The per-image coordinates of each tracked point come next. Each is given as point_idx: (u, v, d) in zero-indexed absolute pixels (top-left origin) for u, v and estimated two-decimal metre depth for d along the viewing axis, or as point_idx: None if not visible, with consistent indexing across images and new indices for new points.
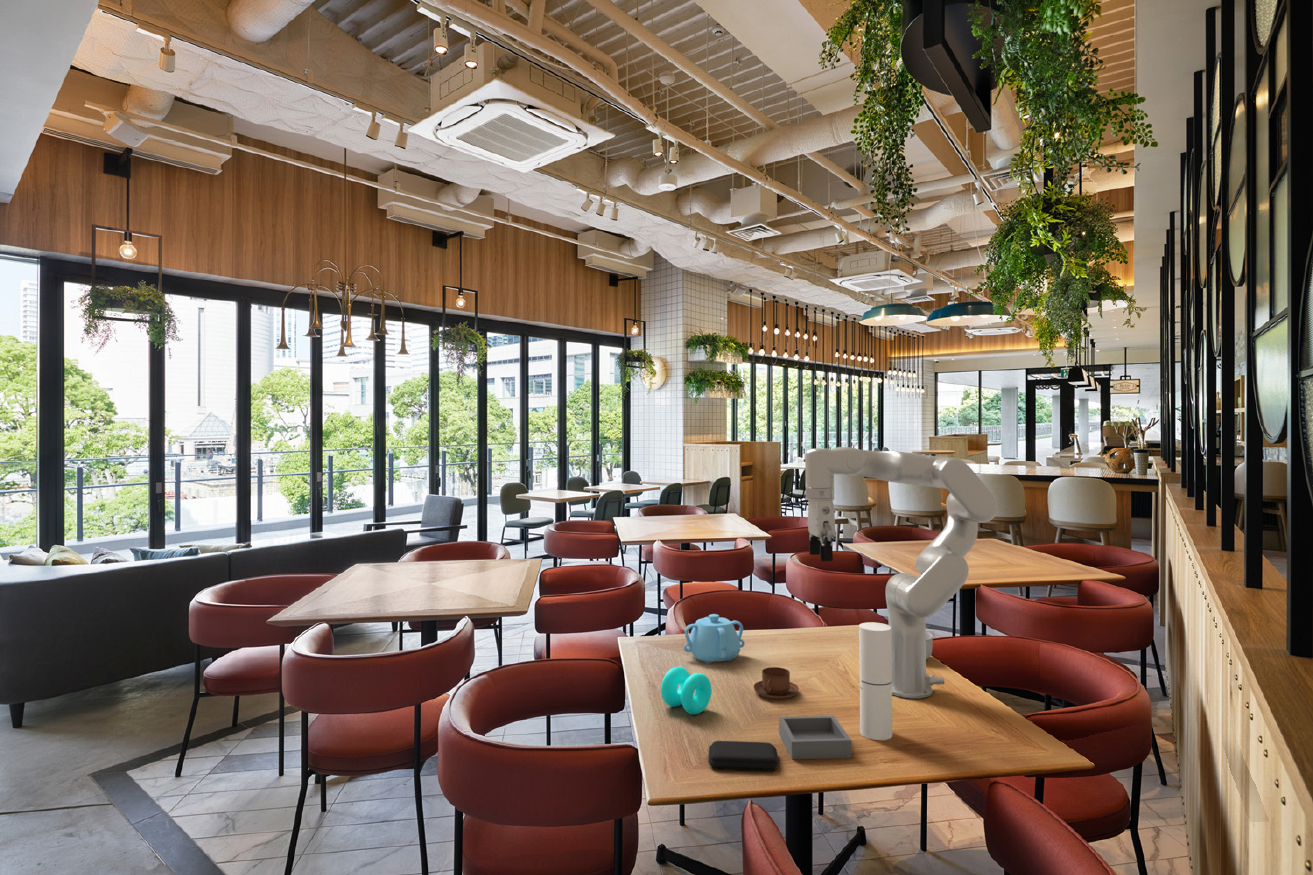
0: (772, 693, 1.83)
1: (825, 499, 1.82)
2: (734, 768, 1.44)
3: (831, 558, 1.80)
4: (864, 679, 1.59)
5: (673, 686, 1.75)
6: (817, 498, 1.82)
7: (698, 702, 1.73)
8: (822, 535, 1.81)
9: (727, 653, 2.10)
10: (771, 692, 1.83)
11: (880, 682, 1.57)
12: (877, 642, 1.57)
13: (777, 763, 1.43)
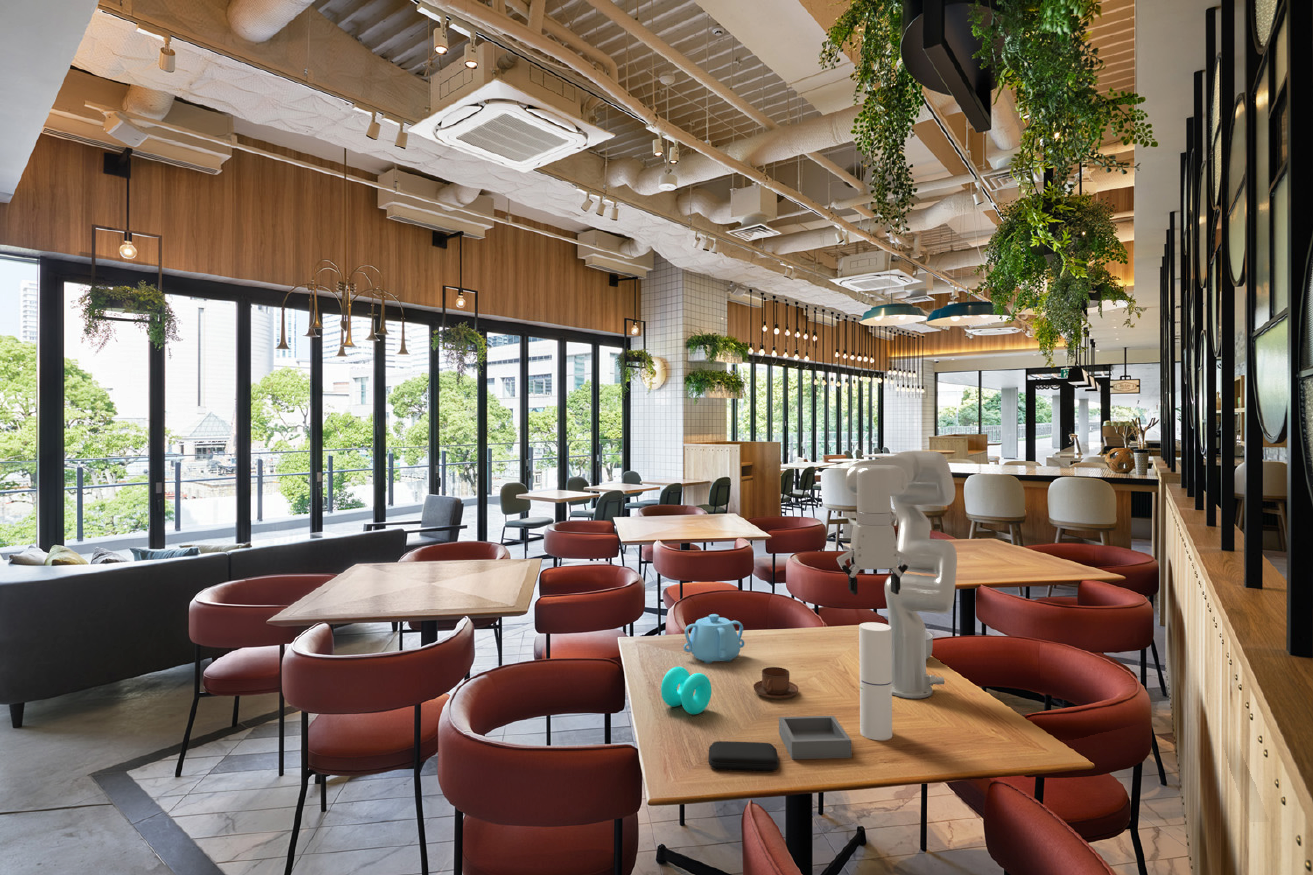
0: (772, 693, 1.83)
1: None
2: (734, 769, 1.43)
3: None
4: (864, 679, 1.59)
5: (673, 686, 1.75)
6: (890, 524, 1.59)
7: (698, 702, 1.73)
8: None
9: (727, 653, 2.10)
10: (771, 692, 1.83)
11: (880, 682, 1.57)
12: (877, 642, 1.57)
13: (777, 763, 1.43)
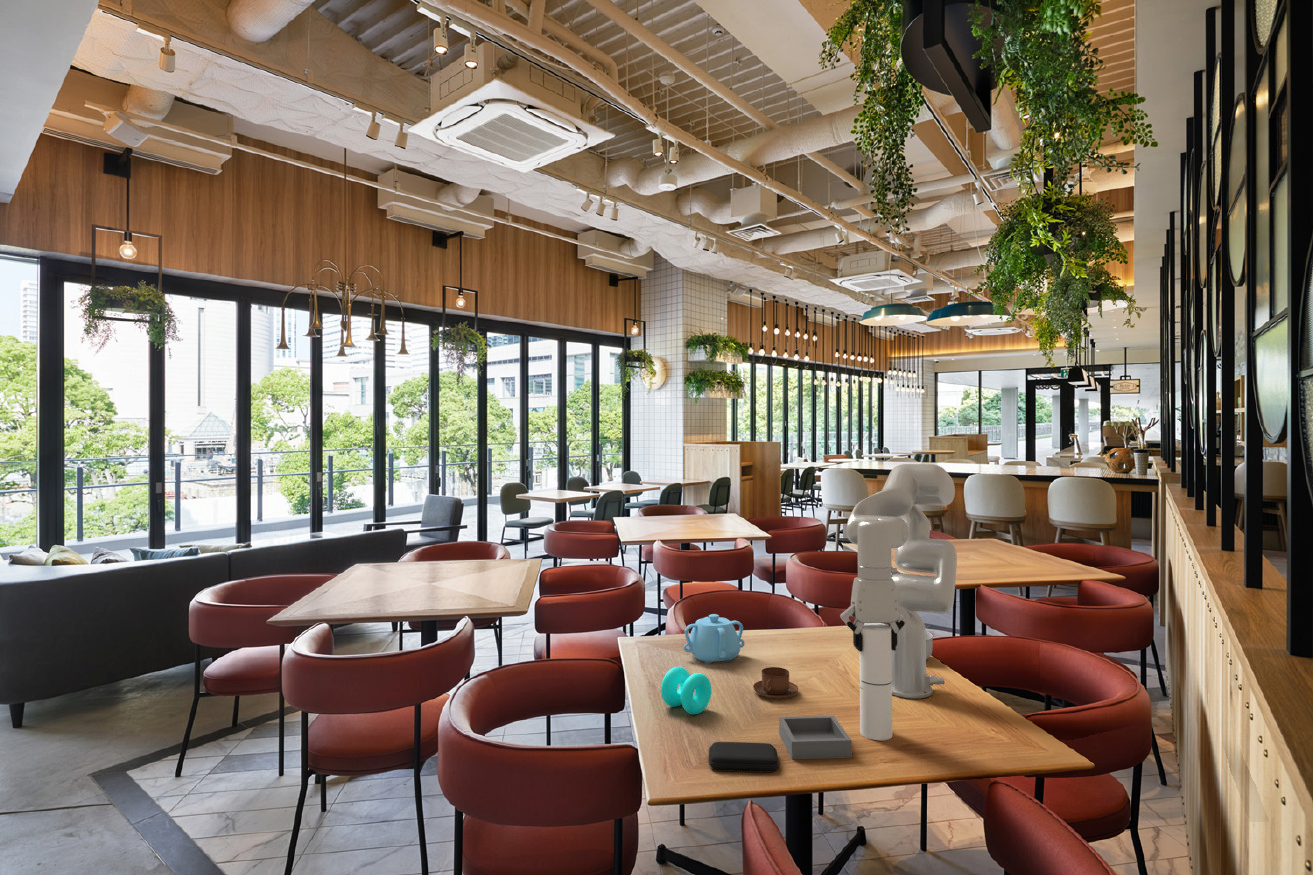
0: (772, 693, 1.83)
1: None
2: (734, 769, 1.43)
3: None
4: (864, 679, 1.59)
5: (673, 686, 1.75)
6: (891, 577, 1.59)
7: (698, 702, 1.73)
8: None
9: (727, 653, 2.10)
10: (771, 692, 1.83)
11: (880, 682, 1.57)
12: (878, 642, 1.57)
13: (777, 764, 1.43)
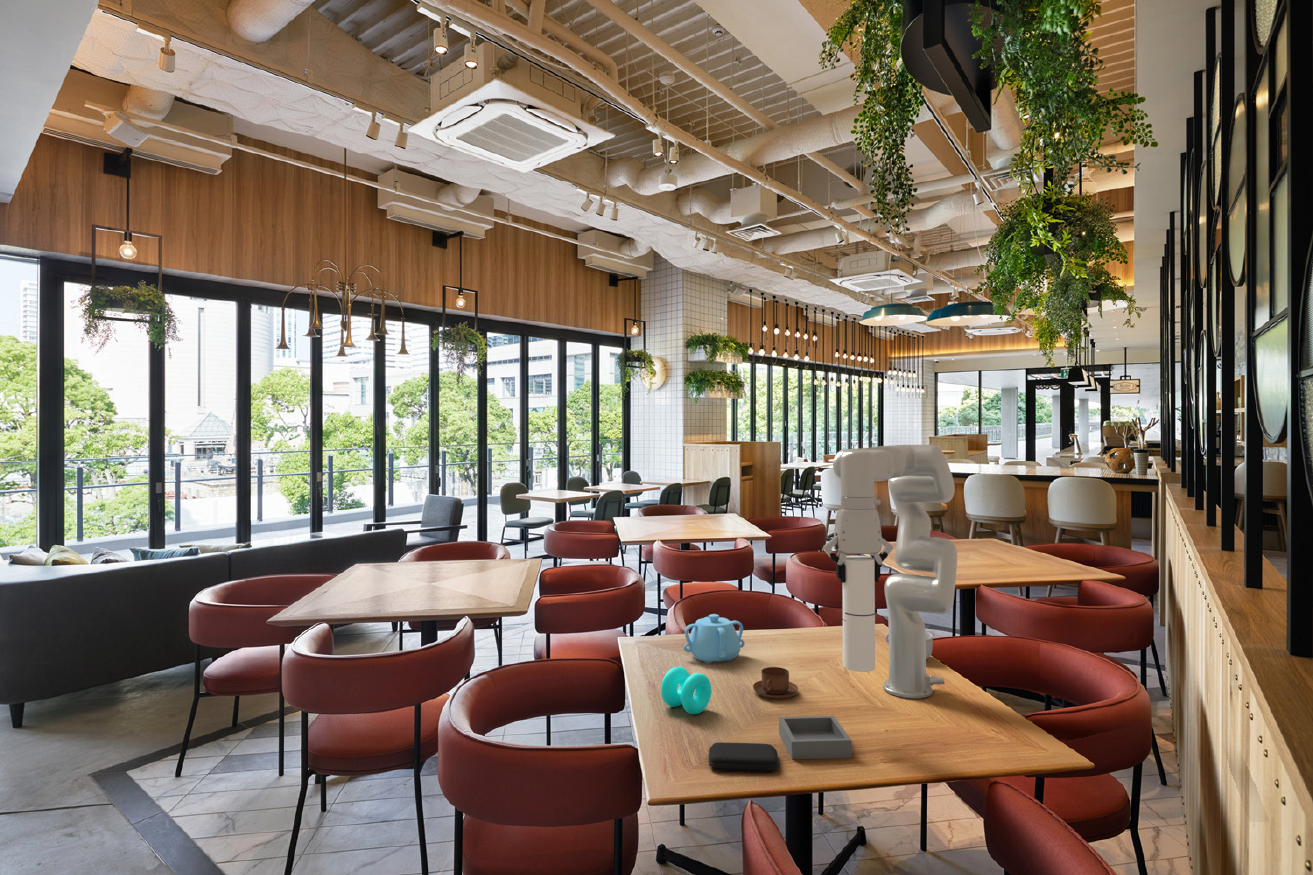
0: (771, 693, 1.83)
1: None
2: (735, 770, 1.43)
3: None
4: (847, 611, 1.57)
5: (673, 686, 1.75)
6: (874, 508, 1.57)
7: (698, 702, 1.73)
8: None
9: (727, 653, 2.10)
10: (770, 692, 1.83)
11: (863, 613, 1.55)
12: (861, 573, 1.55)
13: (778, 764, 1.43)
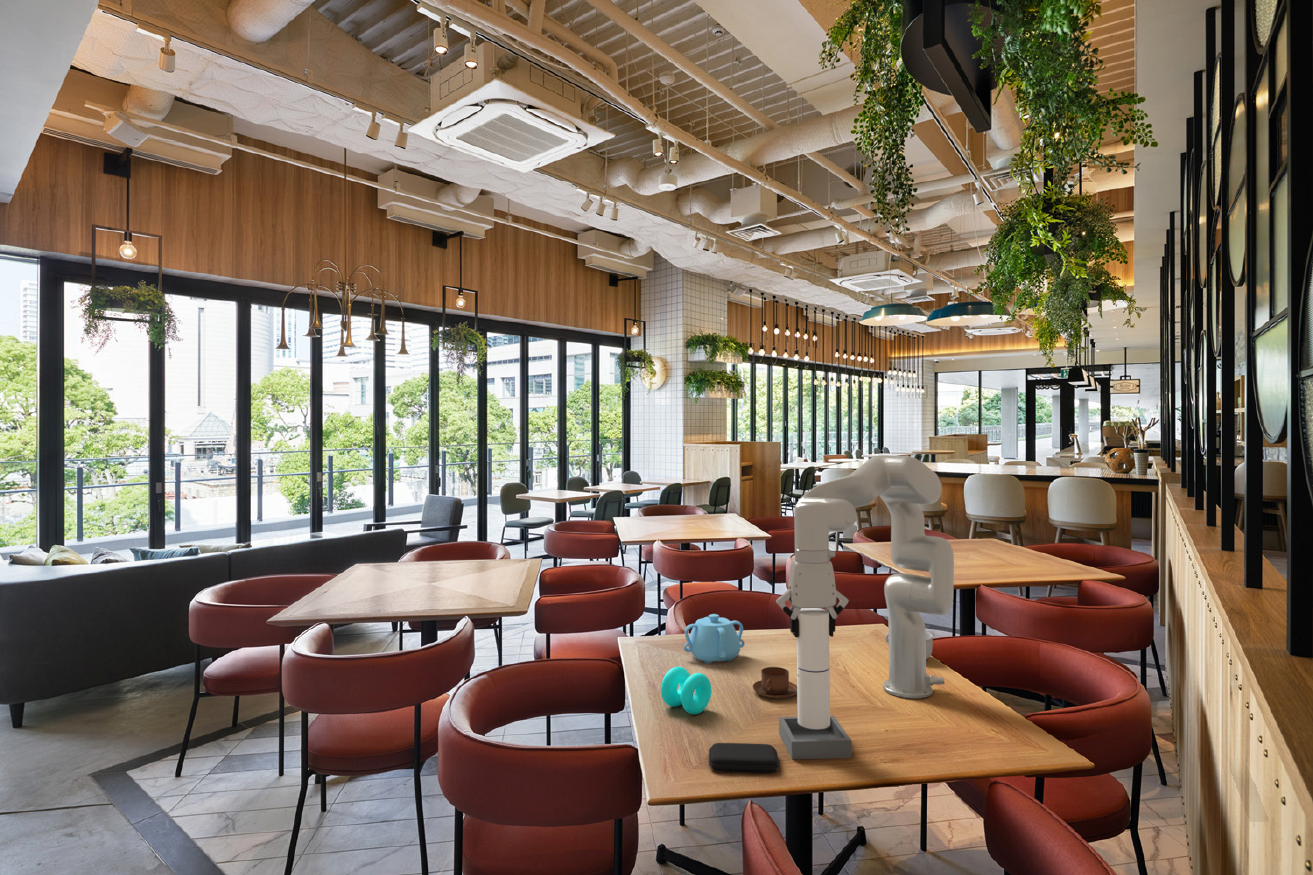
0: (771, 693, 1.83)
1: None
2: (735, 770, 1.43)
3: None
4: (800, 666, 1.53)
5: (673, 686, 1.75)
6: (828, 561, 1.53)
7: (698, 702, 1.73)
8: None
9: (727, 653, 2.10)
10: (770, 692, 1.83)
11: (816, 669, 1.51)
12: (814, 628, 1.51)
13: (778, 765, 1.43)
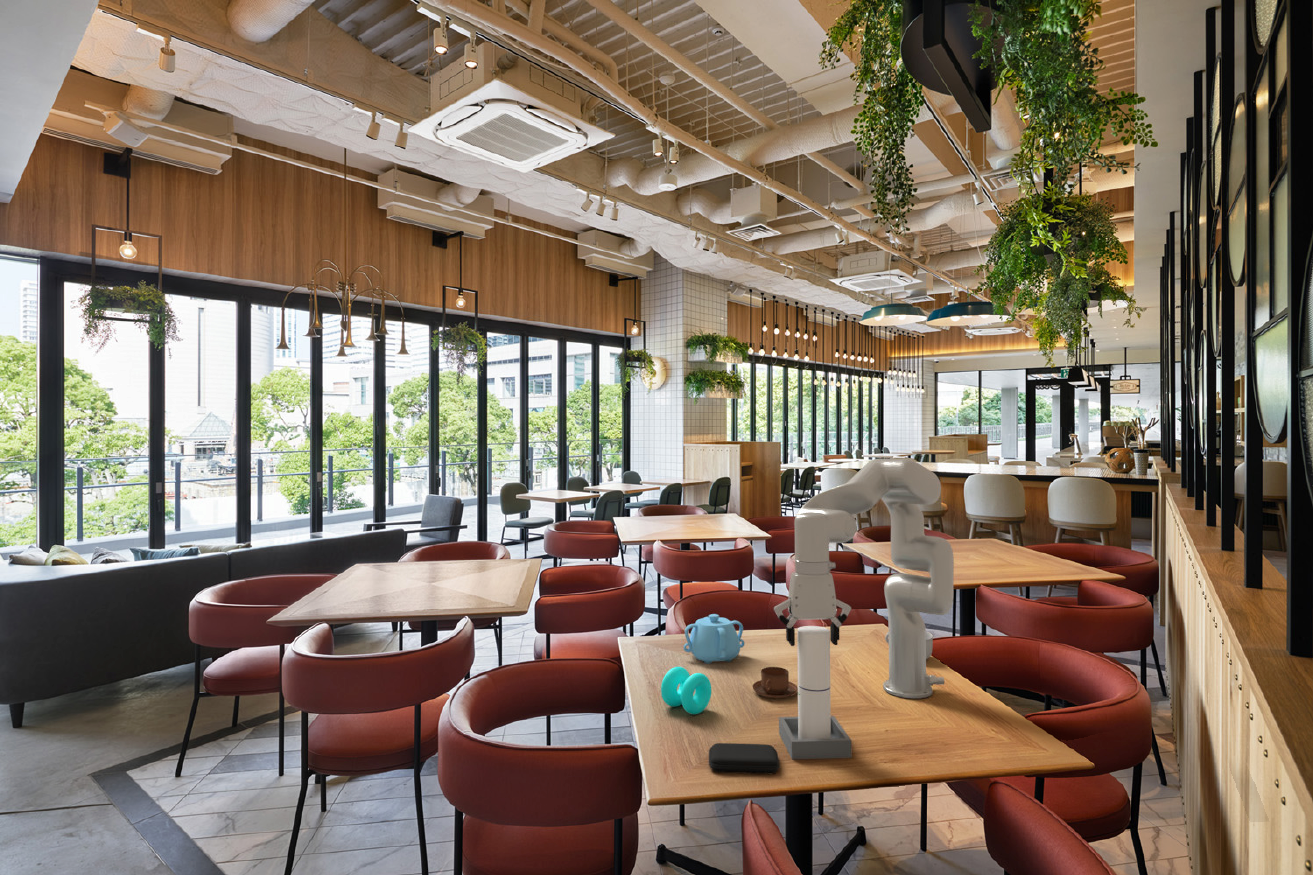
0: (771, 693, 1.83)
1: None
2: (735, 771, 1.42)
3: None
4: (801, 685, 1.53)
5: (673, 686, 1.75)
6: (828, 572, 1.53)
7: (698, 702, 1.73)
8: None
9: (727, 653, 2.10)
10: (770, 692, 1.83)
11: (817, 688, 1.51)
12: (815, 647, 1.51)
13: (778, 765, 1.42)
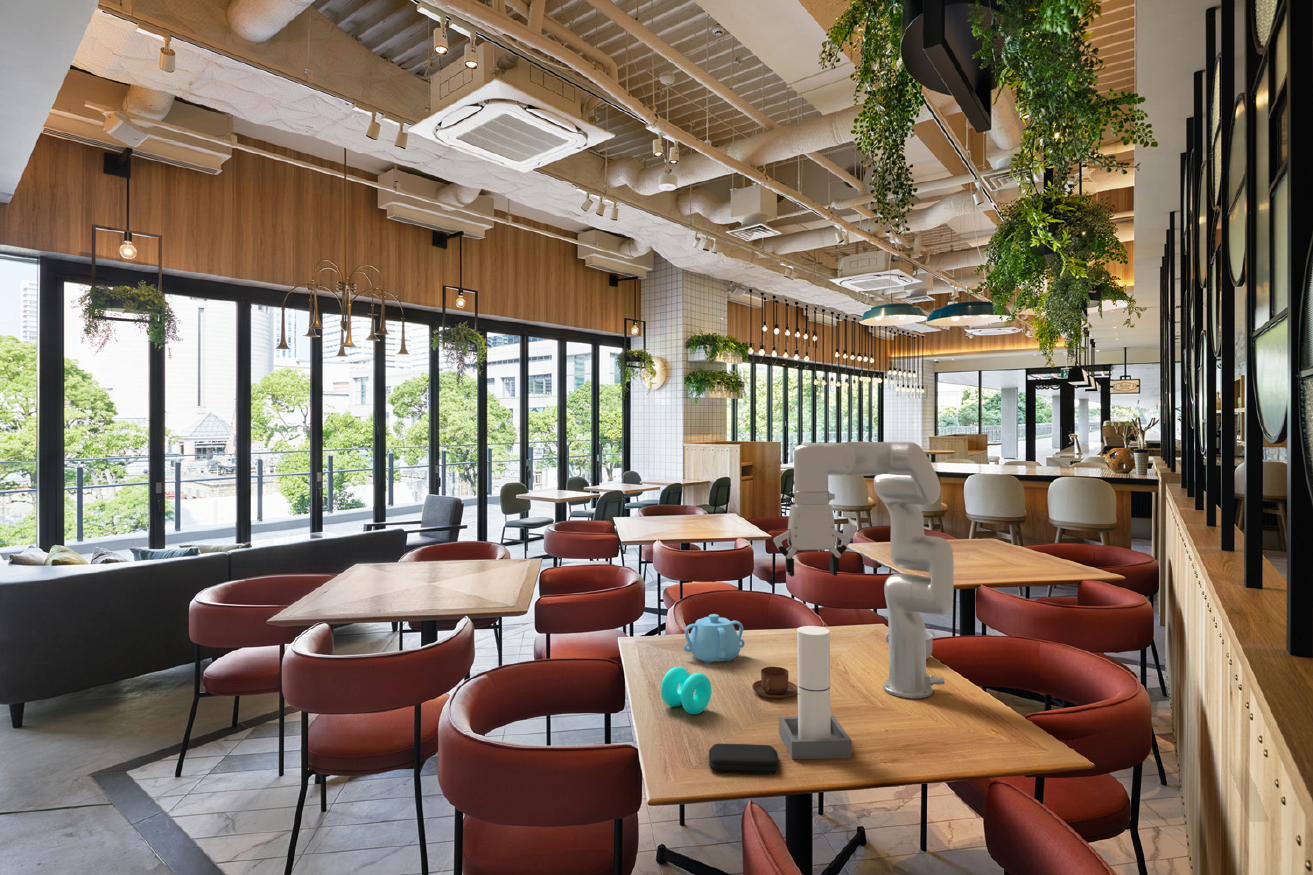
0: (771, 692, 1.83)
1: None
2: (735, 771, 1.42)
3: None
4: (801, 685, 1.53)
5: (673, 686, 1.75)
6: (828, 503, 1.53)
7: (698, 702, 1.73)
8: None
9: (727, 653, 2.10)
10: (770, 691, 1.83)
11: (817, 688, 1.51)
12: (814, 647, 1.52)
13: (778, 766, 1.42)
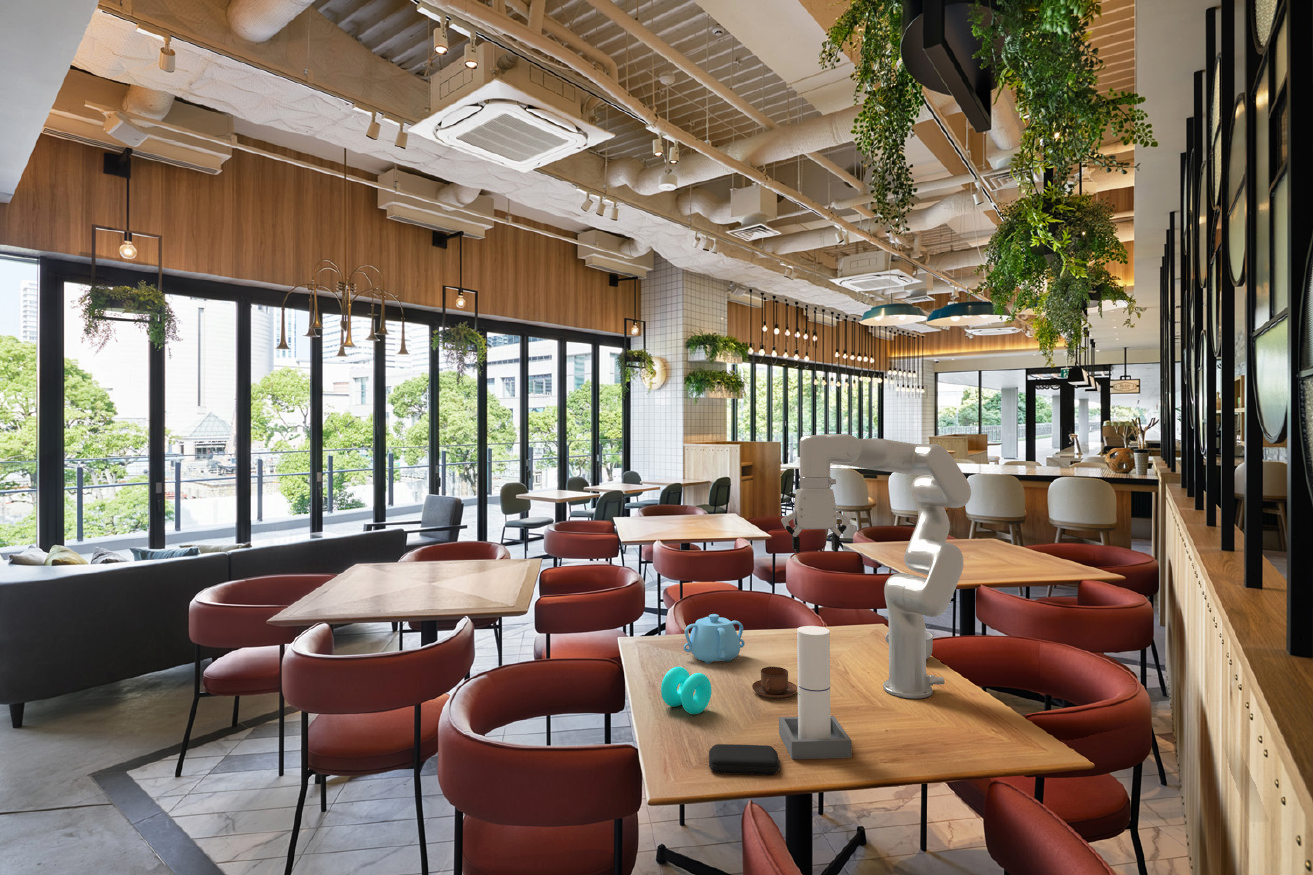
0: (770, 692, 1.84)
1: None
2: (735, 772, 1.42)
3: None
4: (801, 685, 1.53)
5: (673, 686, 1.75)
6: None
7: (698, 702, 1.73)
8: None
9: (727, 653, 2.10)
10: (769, 691, 1.83)
11: (817, 688, 1.51)
12: (814, 647, 1.52)
13: (778, 766, 1.42)
